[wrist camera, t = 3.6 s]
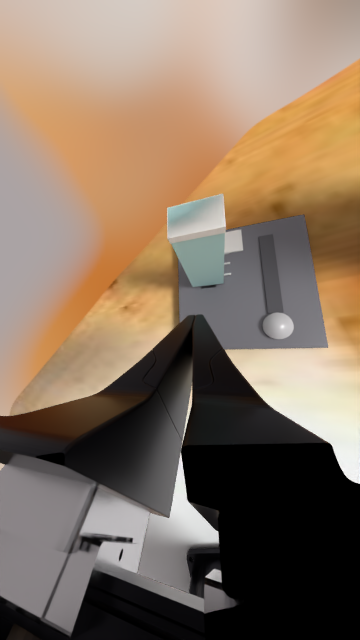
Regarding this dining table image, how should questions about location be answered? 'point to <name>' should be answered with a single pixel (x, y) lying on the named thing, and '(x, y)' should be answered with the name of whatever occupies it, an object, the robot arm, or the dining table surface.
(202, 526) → the dining table surface
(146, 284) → the dining table surface
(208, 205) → the fader tab
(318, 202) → the dining table surface
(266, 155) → the dining table surface
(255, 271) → the console panel
